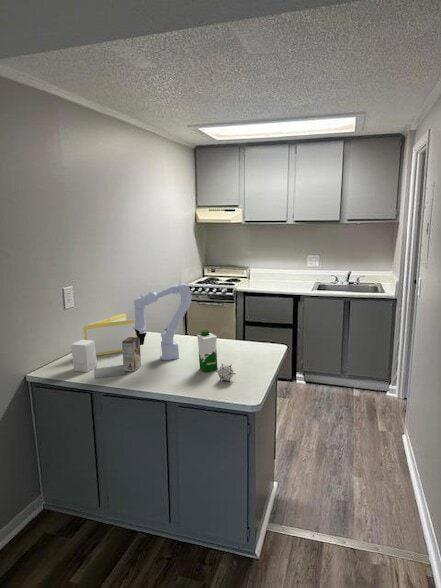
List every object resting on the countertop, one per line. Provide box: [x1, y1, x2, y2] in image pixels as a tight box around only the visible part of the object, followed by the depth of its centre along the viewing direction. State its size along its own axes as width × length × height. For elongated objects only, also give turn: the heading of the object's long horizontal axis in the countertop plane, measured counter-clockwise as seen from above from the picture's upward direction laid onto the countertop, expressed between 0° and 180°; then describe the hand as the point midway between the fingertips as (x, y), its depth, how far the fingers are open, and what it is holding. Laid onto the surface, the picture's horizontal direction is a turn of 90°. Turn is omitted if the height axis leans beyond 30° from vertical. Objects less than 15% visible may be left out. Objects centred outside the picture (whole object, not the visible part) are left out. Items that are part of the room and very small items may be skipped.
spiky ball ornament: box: [215, 363, 236, 383], centre depth 200 cm, size 9×8×10 cm
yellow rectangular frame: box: [83, 312, 137, 357], centre depth 252 cm, size 35×22×20 cm, turn 150°
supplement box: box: [70, 339, 98, 373], centre depth 224 cm, size 9×9×15 cm
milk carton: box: [197, 329, 219, 373], centre depth 215 cm, size 9×9×20 cm
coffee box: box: [122, 337, 142, 372], centre depth 220 cm, size 9×6×16 cm
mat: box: [94, 364, 126, 380], centre depth 219 cm, size 15×14×1 cm
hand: (140, 342), depth 232 cm, fingers open, 7 cm apart
